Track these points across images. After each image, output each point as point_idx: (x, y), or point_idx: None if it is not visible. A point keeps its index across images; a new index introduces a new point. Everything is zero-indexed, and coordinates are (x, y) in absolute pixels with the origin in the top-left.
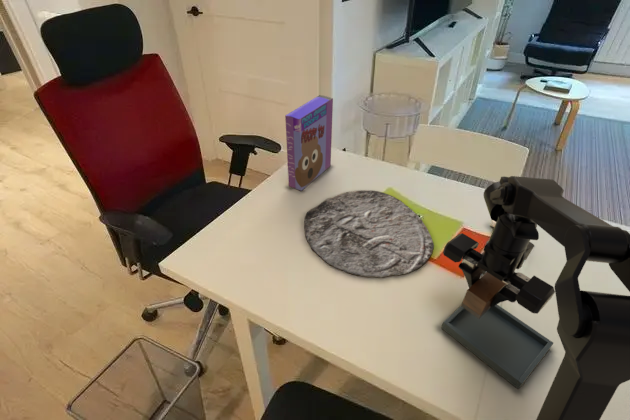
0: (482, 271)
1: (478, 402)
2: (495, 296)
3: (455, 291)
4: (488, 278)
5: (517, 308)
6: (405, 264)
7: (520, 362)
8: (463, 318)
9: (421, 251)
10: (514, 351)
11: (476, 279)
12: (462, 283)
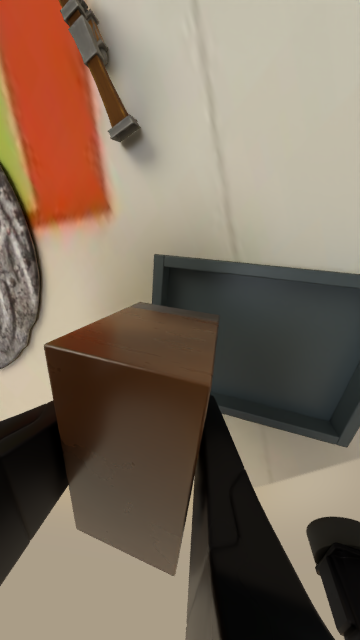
0: (132, 130)
1: (268, 468)
2: (187, 616)
3: (125, 274)
4: (89, 433)
5: (278, 196)
6: (18, 288)
7: (327, 377)
8: None
9: (2, 218)
10: (306, 357)
11: (58, 462)
12: (121, 235)
